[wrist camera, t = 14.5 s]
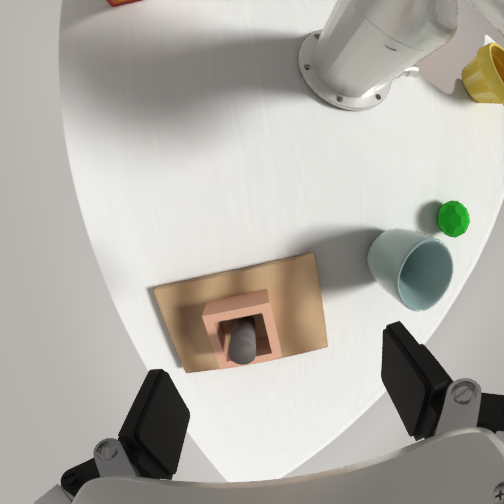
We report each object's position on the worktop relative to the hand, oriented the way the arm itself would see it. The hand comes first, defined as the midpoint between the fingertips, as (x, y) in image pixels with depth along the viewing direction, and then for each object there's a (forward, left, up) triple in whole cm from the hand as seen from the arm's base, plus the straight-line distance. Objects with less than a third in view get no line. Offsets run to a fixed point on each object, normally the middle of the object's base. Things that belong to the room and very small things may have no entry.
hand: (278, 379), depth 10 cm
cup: (-16, +4, -23) cm, 28 cm away
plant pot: (-42, -20, -23) cm, 52 cm away
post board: (+4, +8, -23) cm, 25 cm away
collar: (+4, +8, -21) cm, 23 cm away
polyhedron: (-27, +1, -23) cm, 36 cm away
